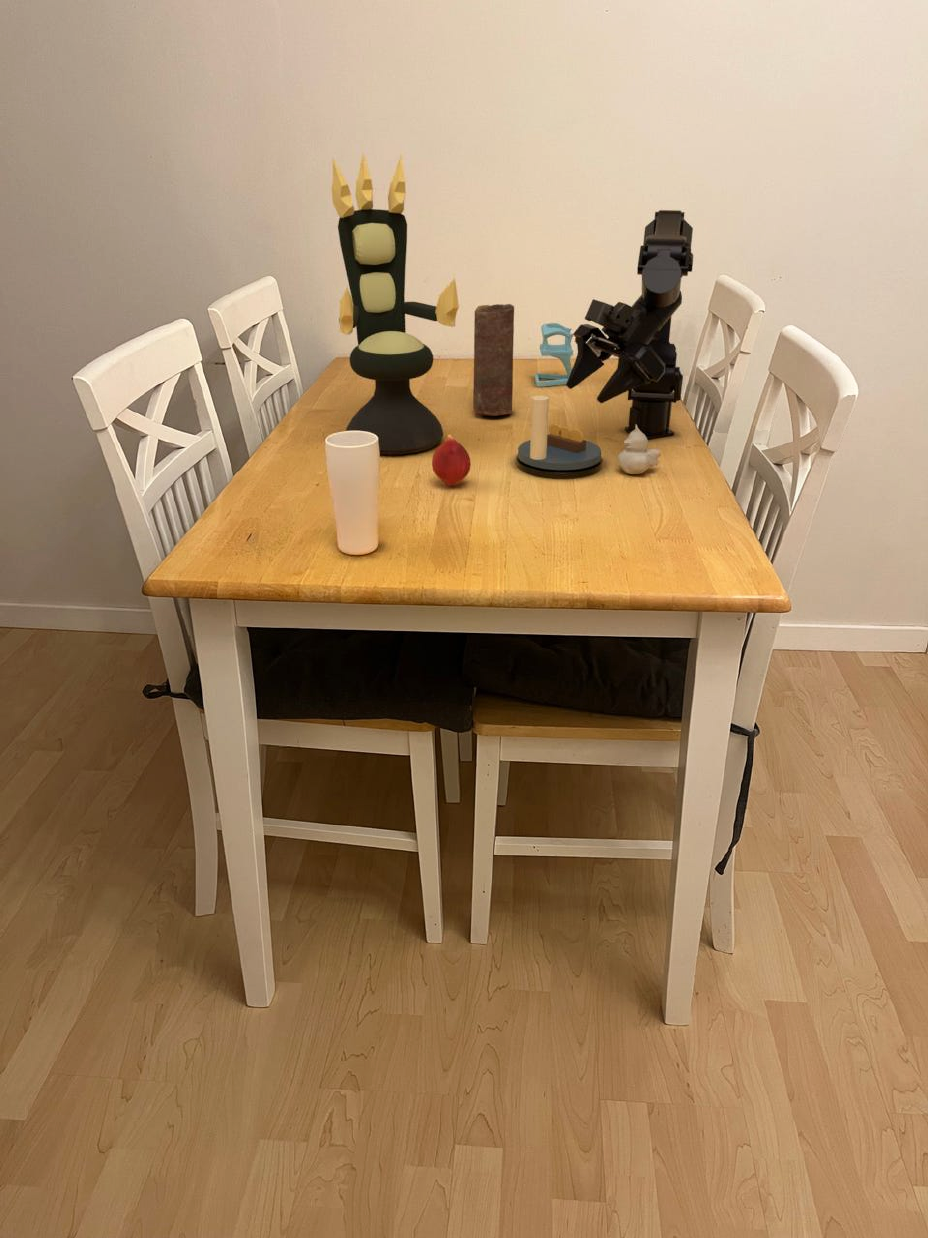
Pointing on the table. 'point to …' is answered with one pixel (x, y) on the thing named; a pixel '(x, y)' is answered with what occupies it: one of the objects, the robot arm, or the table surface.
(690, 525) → the table surface
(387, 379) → the black throne
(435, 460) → the onion
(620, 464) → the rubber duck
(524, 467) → the turntable base
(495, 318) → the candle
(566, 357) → the chair
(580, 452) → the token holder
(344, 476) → the drinking glass
